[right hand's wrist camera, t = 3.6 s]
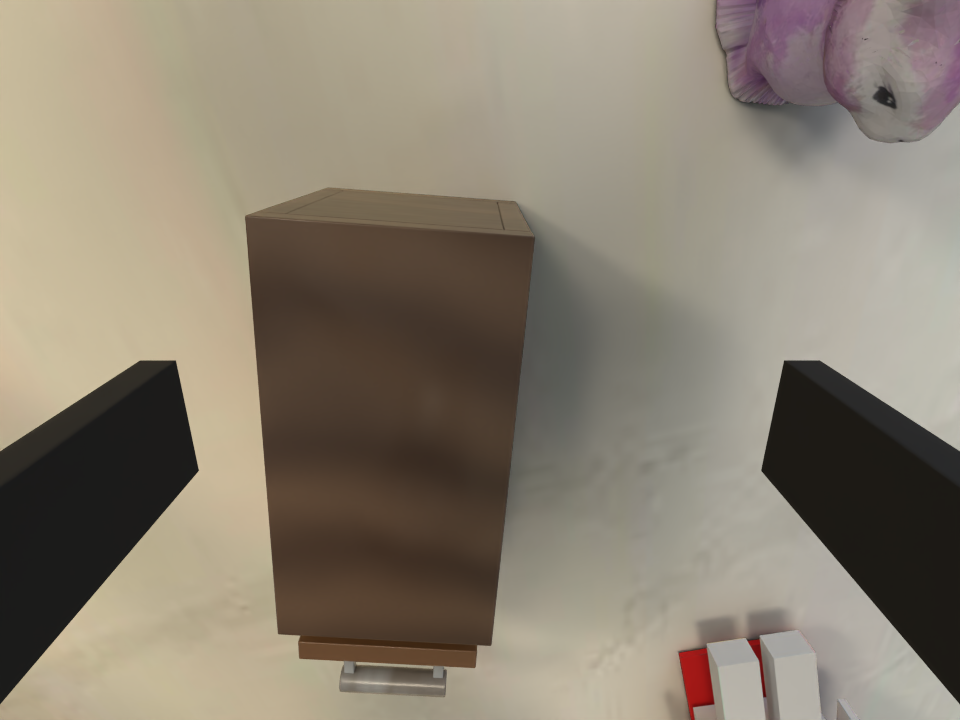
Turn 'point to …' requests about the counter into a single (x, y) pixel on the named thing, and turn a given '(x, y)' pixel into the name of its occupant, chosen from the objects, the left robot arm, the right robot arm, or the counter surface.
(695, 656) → the toy
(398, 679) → the drawer
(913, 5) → the figurine
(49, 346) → the counter surface
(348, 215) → the cabinet
